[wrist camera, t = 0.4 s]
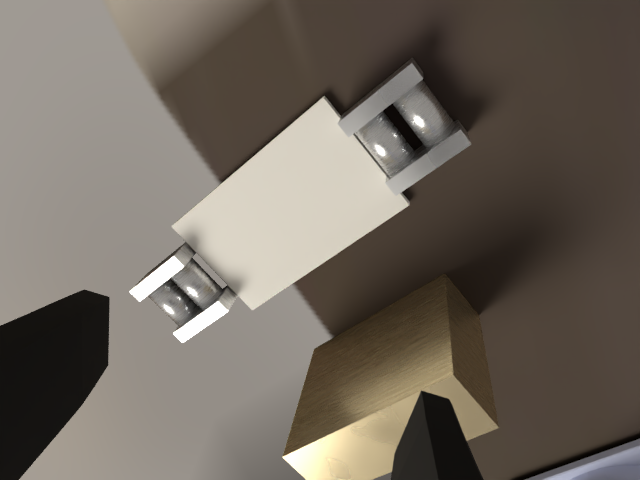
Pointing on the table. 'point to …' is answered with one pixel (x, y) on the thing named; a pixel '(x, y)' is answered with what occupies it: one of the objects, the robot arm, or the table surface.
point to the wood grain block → (390, 384)
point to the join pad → (290, 207)
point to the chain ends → (360, 119)
